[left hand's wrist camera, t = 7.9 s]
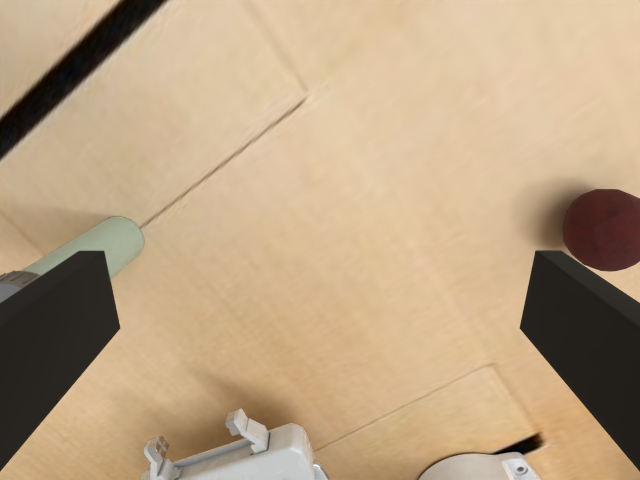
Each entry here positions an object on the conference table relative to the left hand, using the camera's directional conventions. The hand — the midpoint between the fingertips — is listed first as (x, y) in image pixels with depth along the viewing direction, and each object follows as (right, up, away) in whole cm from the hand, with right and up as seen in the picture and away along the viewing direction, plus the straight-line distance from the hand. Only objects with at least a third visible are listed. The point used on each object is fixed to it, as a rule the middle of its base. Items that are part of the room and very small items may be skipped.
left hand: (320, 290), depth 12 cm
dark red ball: (+27, +4, +28) cm, 39 cm away
